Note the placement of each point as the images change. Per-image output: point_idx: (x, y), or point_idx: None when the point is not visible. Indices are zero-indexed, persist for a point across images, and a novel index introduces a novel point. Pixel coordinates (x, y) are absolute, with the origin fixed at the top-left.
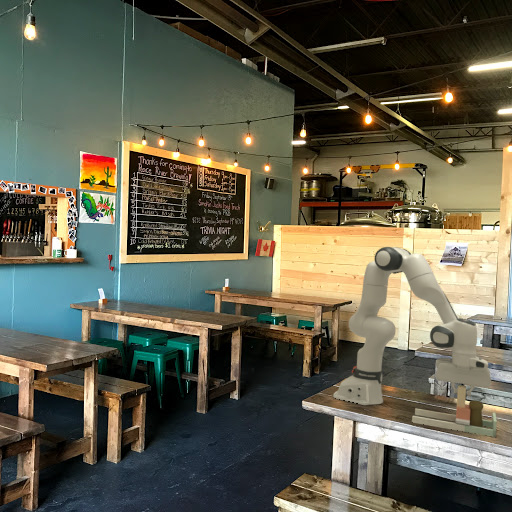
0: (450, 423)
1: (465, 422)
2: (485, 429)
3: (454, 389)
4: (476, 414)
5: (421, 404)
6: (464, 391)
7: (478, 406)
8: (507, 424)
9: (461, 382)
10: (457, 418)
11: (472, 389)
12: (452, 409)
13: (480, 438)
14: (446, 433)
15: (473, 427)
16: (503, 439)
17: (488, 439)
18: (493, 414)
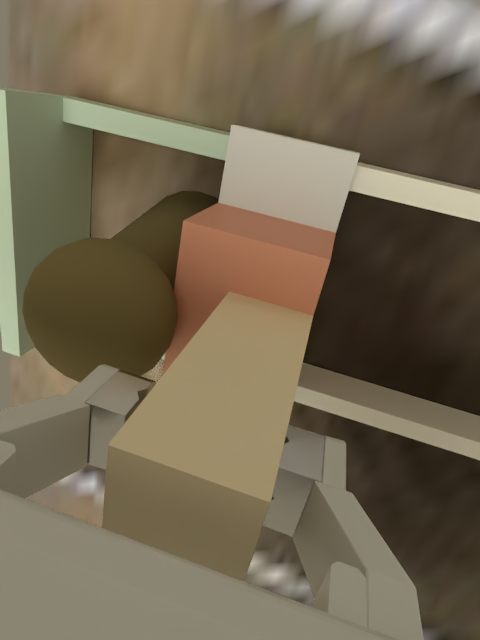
0: (400, 175)
1: (269, 133)
2: (119, 109)
3: (335, 484)
4: (138, 233)
5: (436, 623)
6: (167, 402)
7: (76, 243)
8: (10, 380)
9: (155, 573)
10: (323, 226)
11: (7, 410)
12: (261, 558)
13: (186, 13)
14: (476, 25)
15: (208, 130)
16: (31, 72)
17: (129, 16)
18: (13, 306)
